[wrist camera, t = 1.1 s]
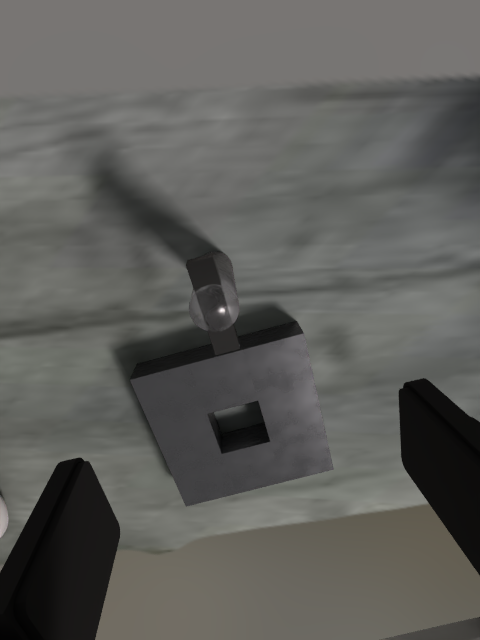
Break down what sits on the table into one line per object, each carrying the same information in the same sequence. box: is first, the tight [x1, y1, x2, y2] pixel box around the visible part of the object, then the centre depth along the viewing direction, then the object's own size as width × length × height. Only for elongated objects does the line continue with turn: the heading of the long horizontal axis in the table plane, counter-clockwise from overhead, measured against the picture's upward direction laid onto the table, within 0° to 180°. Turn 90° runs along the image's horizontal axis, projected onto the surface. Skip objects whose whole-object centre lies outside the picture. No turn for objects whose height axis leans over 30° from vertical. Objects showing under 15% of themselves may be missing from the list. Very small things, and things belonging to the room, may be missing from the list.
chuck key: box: [186, 251, 240, 355], centre depth 26 cm, size 3×6×11 cm, turn 15°
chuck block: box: [130, 321, 333, 506], centre depth 35 cm, size 16×16×3 cm
